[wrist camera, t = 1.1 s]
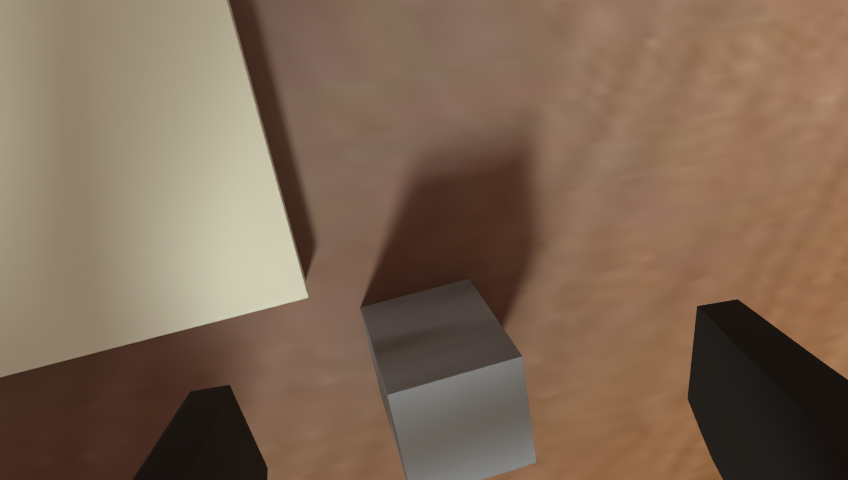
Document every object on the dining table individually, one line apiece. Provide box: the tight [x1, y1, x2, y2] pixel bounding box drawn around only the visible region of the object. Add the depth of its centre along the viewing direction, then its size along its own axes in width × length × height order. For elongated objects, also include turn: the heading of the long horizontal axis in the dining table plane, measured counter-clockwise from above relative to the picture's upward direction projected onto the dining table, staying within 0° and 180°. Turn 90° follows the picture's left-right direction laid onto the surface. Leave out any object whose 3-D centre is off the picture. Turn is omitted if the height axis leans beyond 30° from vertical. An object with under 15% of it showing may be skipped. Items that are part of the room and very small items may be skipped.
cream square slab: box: [0, 0, 308, 377], centre depth 22 cm, size 12×12×2 cm
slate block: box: [360, 279, 536, 480], centre depth 25 cm, size 4×4×6 cm
